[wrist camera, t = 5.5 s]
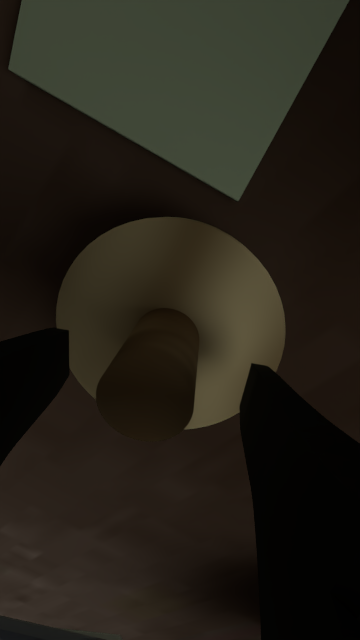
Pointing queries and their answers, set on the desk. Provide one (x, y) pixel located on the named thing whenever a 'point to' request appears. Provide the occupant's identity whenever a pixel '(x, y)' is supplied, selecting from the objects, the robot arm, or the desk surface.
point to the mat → (178, 72)
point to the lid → (168, 324)
